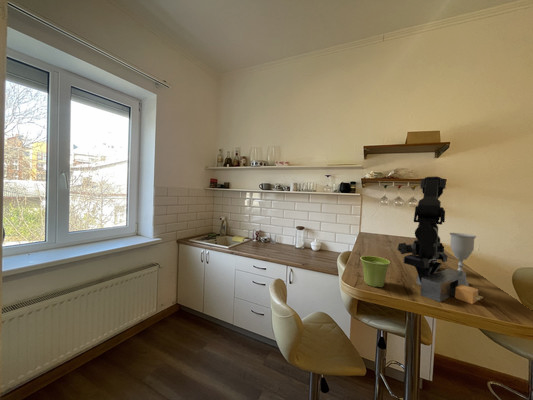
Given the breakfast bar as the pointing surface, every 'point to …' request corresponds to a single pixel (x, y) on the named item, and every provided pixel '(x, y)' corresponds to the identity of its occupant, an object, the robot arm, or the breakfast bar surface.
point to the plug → (462, 293)
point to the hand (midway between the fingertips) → (424, 282)
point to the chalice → (462, 248)
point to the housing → (441, 284)
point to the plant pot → (374, 270)
